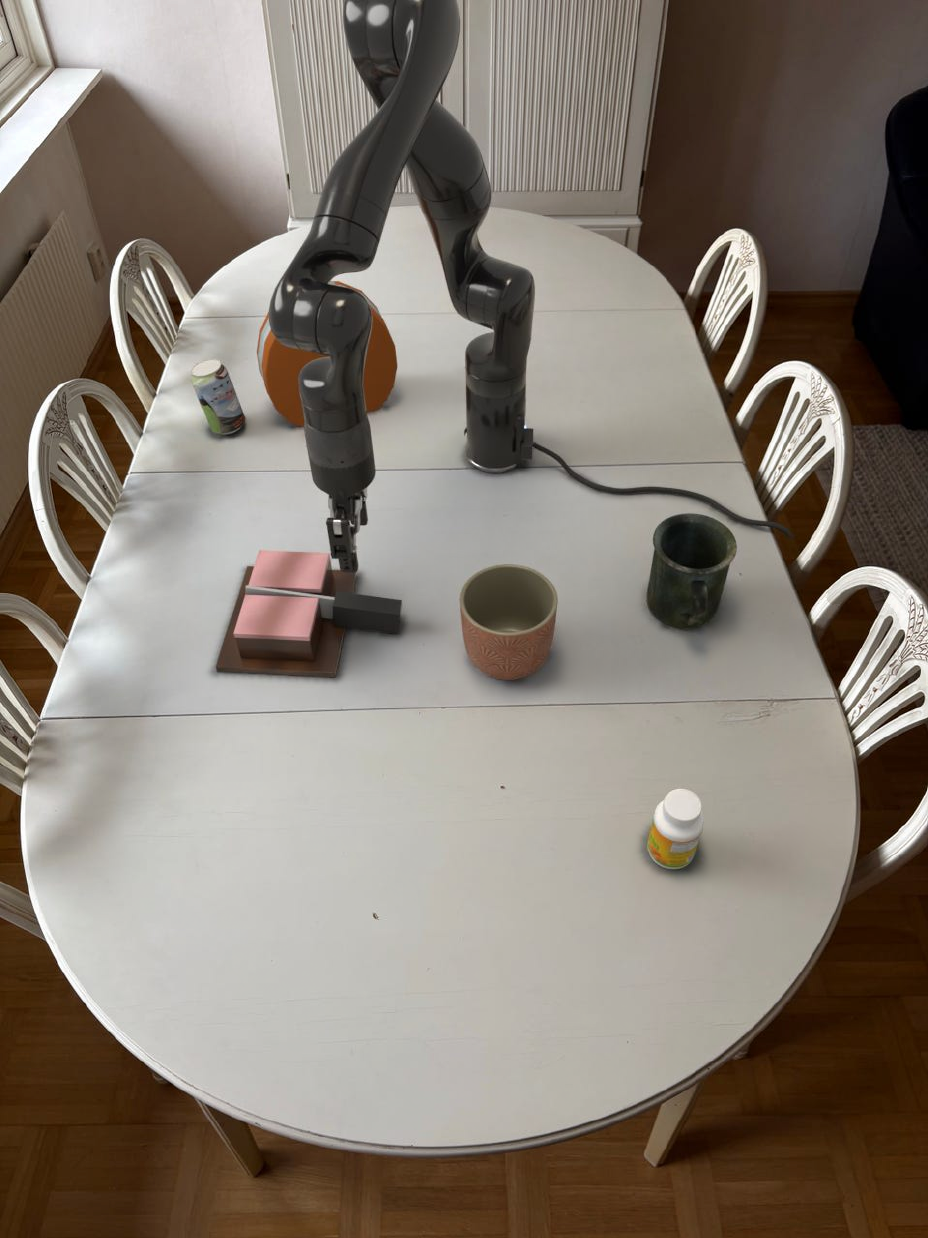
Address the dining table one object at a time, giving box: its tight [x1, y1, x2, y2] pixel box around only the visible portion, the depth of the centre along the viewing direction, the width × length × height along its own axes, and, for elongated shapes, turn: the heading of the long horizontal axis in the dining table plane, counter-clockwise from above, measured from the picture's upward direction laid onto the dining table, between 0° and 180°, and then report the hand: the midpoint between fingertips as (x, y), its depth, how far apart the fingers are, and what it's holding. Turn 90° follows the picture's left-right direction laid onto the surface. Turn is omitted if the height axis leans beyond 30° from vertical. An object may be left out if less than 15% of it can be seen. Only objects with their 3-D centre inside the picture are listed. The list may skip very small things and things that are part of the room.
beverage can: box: [190, 358, 246, 436], centre depth 164 cm, size 6×7×12 cm
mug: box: [645, 512, 738, 630], centre depth 134 cm, size 11×15×12 cm
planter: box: [459, 563, 559, 681], centre depth 130 cm, size 12×12×11 cm
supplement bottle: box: [646, 788, 705, 870], centre depth 110 cm, size 5×5×10 cm
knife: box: [245, 585, 403, 635], centre depth 136 cm, size 21×3×4 cm, turn 86°
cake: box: [215, 549, 358, 678], centre depth 136 cm, size 16×19×6 cm
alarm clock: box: [256, 280, 398, 427], centre depth 164 cm, size 22×10×23 cm, turn 108°
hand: (354, 546), depth 127 cm, fingers open, 8 cm apart
